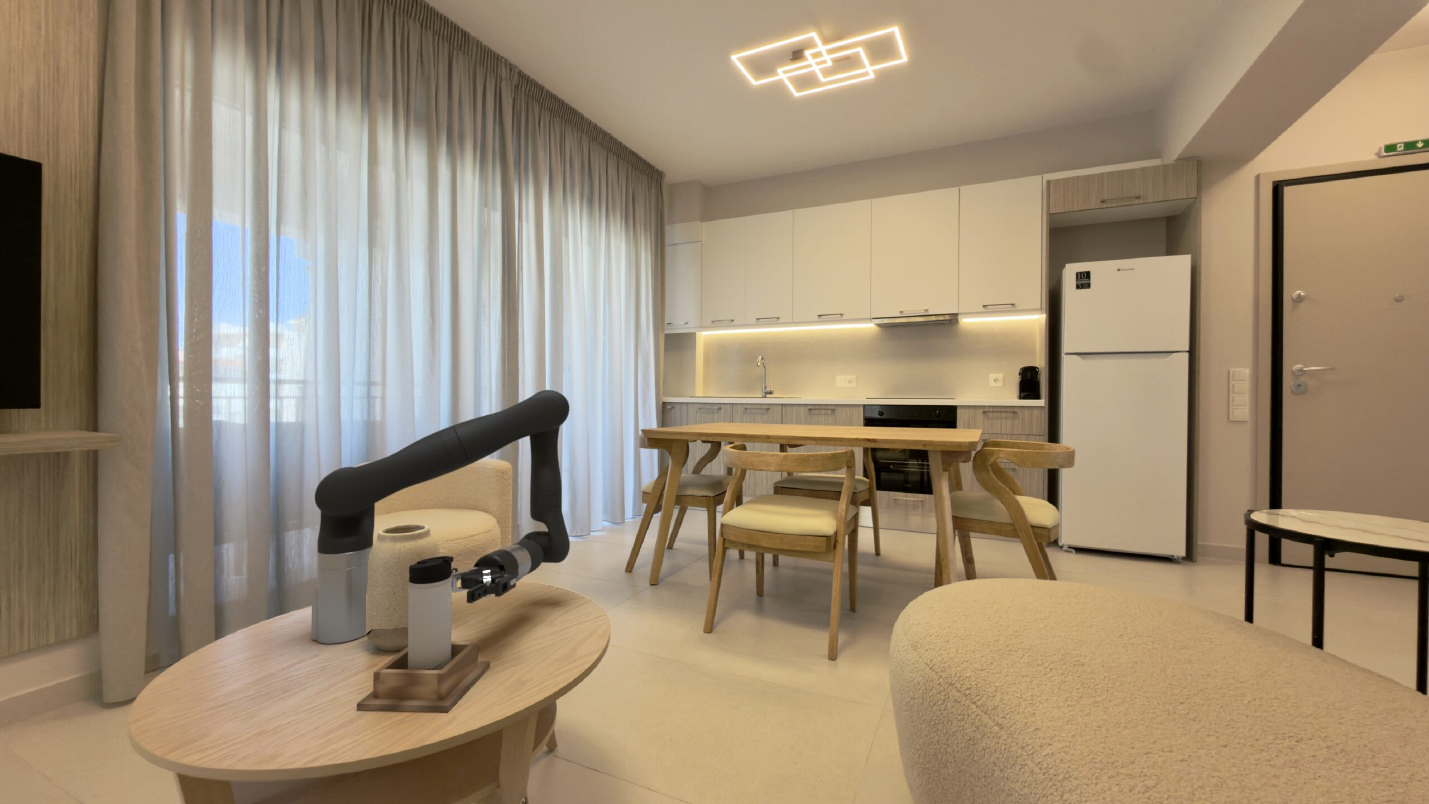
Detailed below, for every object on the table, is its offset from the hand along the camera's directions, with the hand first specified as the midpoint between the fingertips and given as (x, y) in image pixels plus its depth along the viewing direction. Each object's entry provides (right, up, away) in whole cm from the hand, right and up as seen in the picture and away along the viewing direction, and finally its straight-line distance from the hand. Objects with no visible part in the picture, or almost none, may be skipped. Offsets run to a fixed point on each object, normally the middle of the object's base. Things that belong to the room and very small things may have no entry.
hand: (446, 595), depth 92 cm
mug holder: (-1, -13, -4) cm, 14 cm away
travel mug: (-1, -13, -4) cm, 13 cm away
